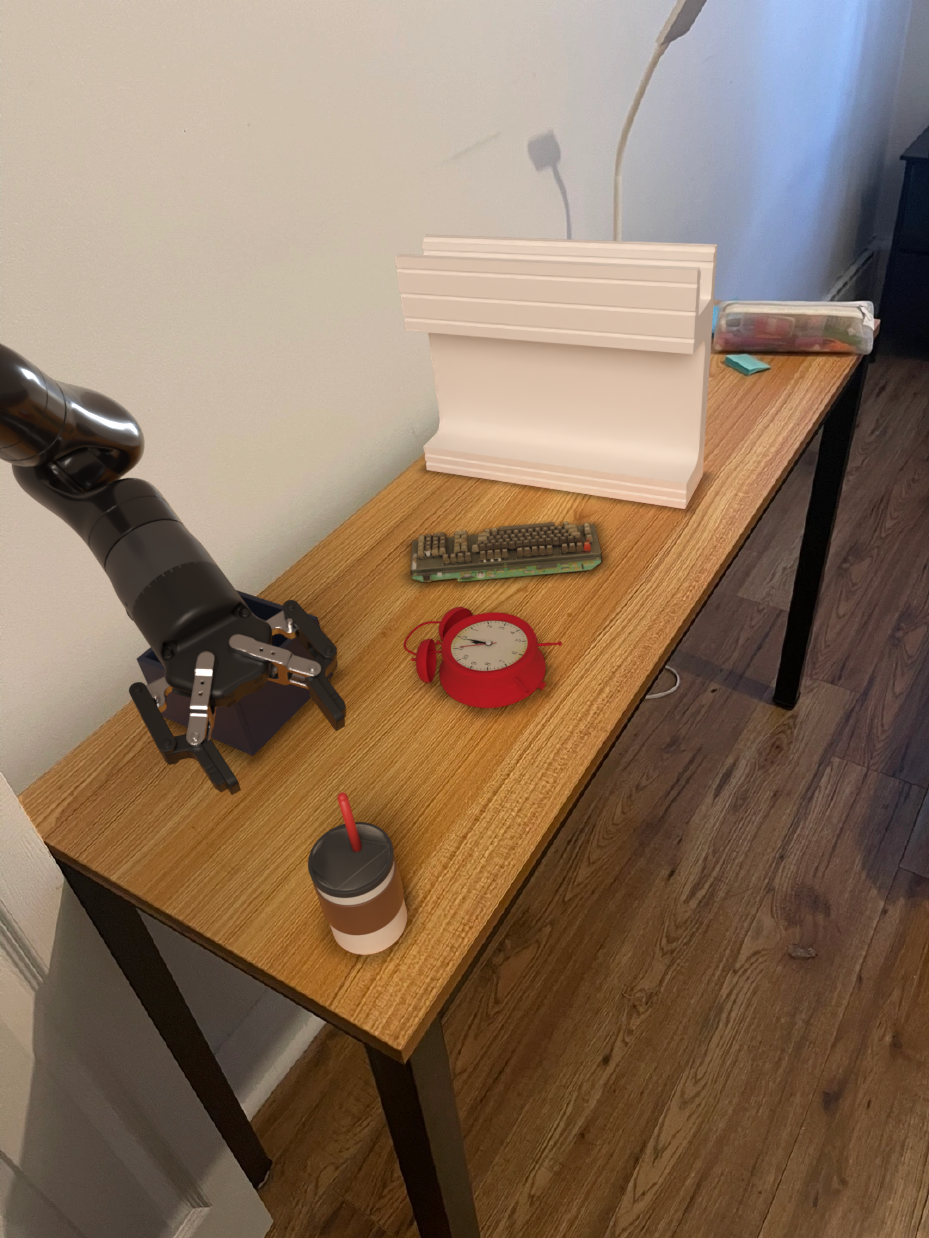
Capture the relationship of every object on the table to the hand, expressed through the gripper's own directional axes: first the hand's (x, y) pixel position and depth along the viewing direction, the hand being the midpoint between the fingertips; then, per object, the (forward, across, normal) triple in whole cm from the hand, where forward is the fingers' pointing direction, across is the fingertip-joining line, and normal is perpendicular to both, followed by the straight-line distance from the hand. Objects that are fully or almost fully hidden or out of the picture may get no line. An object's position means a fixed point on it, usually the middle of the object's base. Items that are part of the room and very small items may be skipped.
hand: (289, 755), depth 64 cm
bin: (-17, +4, +23) cm, 28 cm away
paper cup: (+11, 0, +11) cm, 15 cm away
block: (-25, +54, +29) cm, 66 cm away
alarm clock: (-4, +23, +19) cm, 30 cm away
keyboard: (-16, +37, +24) cm, 47 cm away
